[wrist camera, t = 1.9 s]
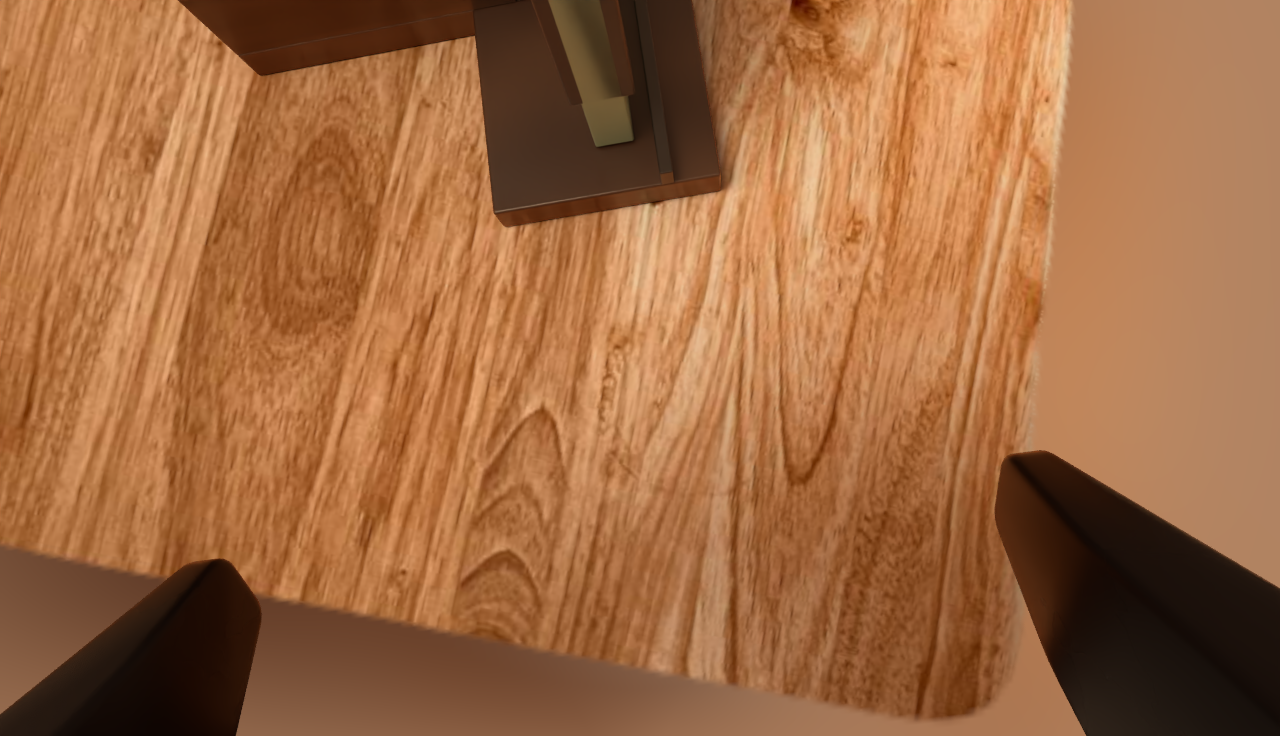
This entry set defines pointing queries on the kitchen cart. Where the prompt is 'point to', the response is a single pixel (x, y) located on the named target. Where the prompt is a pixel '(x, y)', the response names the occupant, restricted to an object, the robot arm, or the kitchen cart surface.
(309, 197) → the kitchen cart surface
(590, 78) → the door
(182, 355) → the kitchen cart surface
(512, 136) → the cabinet
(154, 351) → the kitchen cart surface
